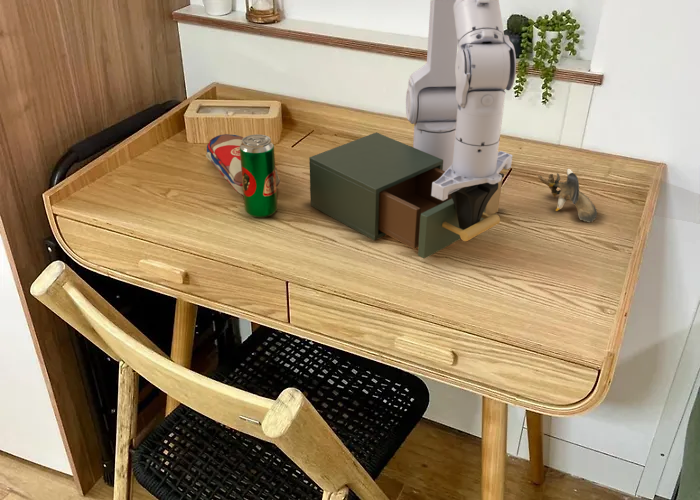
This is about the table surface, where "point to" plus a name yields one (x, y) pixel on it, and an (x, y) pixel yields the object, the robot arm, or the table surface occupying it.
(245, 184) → the soda can
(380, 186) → the cabinet
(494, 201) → the metal-capped square post
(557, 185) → the eagle figurine
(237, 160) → the pencil case
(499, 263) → the table surface
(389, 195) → the drawer
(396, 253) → the table surface
